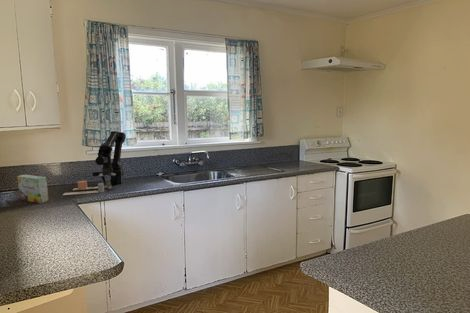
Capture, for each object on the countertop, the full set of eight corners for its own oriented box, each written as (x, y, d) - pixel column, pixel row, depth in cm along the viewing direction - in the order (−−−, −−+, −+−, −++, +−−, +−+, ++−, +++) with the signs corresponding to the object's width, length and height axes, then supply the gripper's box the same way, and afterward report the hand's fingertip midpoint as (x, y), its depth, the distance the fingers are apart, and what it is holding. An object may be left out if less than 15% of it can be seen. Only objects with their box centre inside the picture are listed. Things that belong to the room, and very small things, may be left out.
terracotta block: (87, 187, 229) (86, 180, 228) (86, 189, 224) (85, 181, 223) (79, 188, 227) (78, 180, 227) (78, 189, 223) (77, 182, 222)
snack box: (19, 200, 202) (16, 175, 200) (28, 197, 207) (25, 174, 205) (40, 203, 192) (37, 178, 190) (49, 201, 197) (47, 176, 195)
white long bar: (104, 191, 220) (103, 182, 219) (103, 193, 214) (102, 184, 213) (64, 194, 214) (63, 185, 213) (62, 196, 208) (61, 187, 207)
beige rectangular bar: (111, 186, 233) (110, 178, 232) (110, 188, 227) (109, 180, 227) (74, 189, 227) (73, 181, 226) (72, 191, 221) (71, 182, 221)
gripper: (90, 165, 218) (92, 188, 220) (120, 163, 222) (121, 186, 224) (93, 163, 228) (94, 185, 230) (121, 161, 233) (122, 183, 235)
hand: (108, 185), depth 230 cm, fingers closed on beige rectangular bar, 3 cm apart
